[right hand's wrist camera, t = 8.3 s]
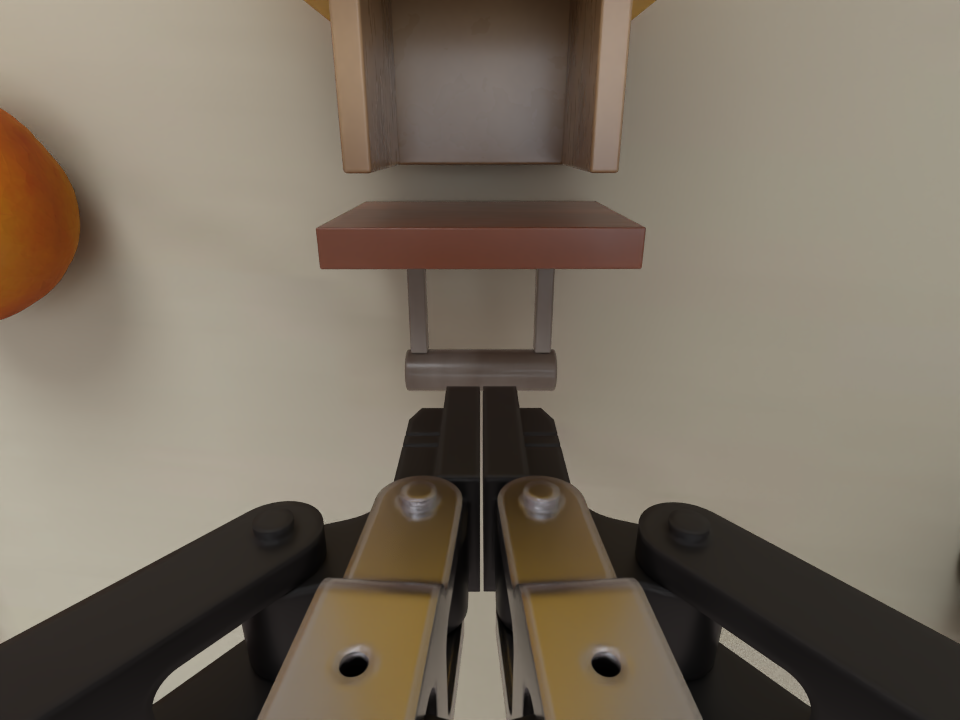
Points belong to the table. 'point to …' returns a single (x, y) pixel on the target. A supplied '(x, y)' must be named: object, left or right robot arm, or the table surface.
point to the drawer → (480, 153)
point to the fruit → (32, 219)
